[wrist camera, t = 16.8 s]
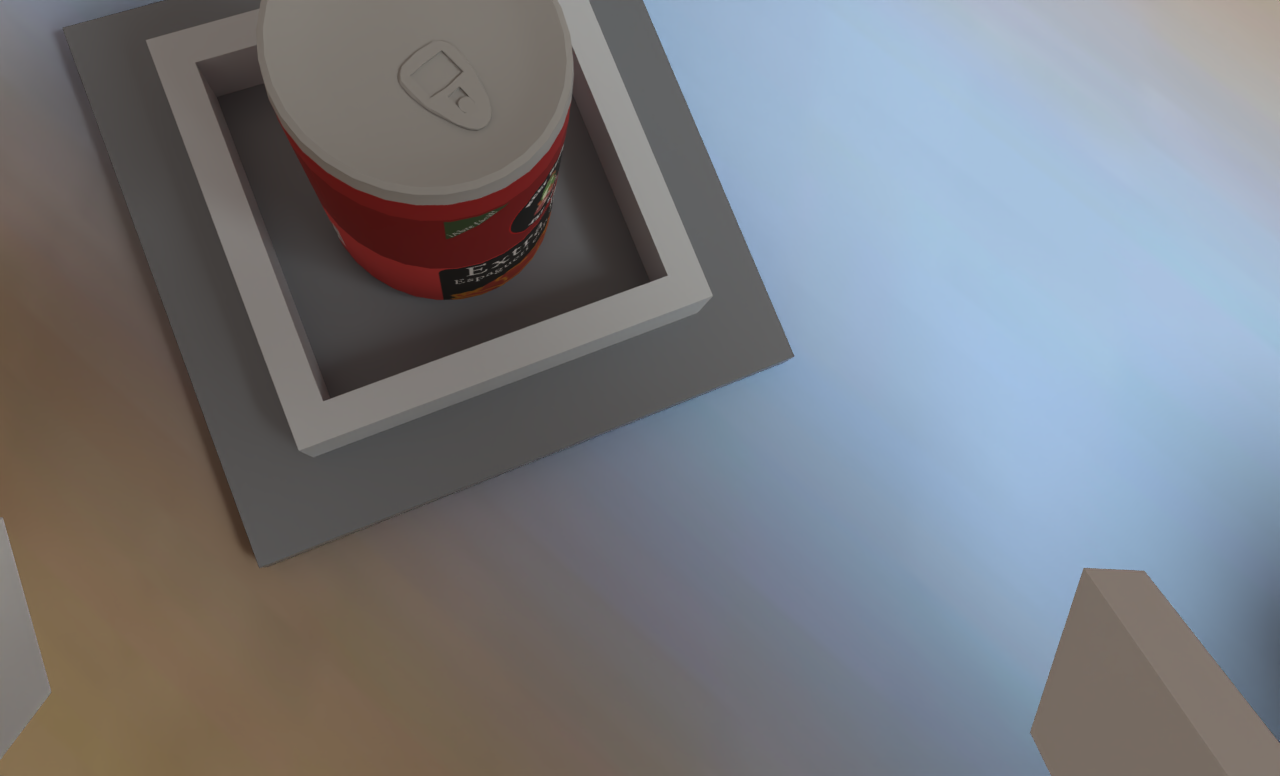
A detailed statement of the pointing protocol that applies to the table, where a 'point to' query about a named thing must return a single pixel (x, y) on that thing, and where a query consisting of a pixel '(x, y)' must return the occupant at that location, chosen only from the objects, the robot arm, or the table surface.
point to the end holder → (402, 323)
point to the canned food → (425, 129)
